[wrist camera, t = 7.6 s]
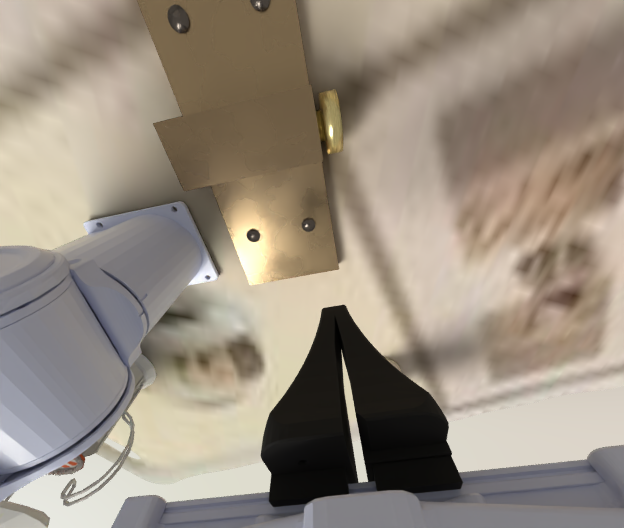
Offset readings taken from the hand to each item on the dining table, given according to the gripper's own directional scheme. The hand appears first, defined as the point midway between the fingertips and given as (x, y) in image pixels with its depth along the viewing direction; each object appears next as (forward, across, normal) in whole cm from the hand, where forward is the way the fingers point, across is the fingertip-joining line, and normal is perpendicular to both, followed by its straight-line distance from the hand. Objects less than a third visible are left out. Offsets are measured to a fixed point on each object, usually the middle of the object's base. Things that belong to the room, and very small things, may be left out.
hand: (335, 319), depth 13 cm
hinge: (+10, +4, -10) cm, 15 cm away
